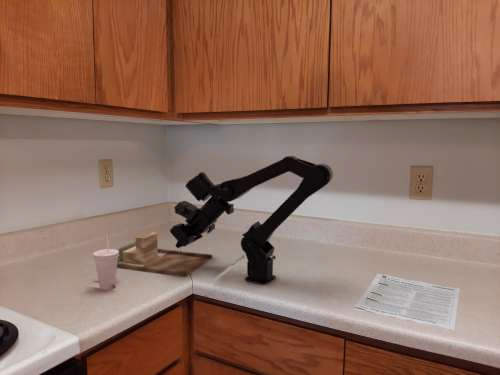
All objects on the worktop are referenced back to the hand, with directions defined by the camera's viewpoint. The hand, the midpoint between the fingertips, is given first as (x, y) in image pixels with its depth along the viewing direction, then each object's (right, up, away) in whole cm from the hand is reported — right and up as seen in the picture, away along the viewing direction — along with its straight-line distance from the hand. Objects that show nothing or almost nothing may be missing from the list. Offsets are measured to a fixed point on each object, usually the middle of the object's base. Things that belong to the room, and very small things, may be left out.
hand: (177, 246), depth 110 cm
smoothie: (-15, -9, -14) cm, 23 cm away
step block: (-13, -5, +5) cm, 14 cm away
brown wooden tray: (-5, -7, +3) cm, 9 cm away
